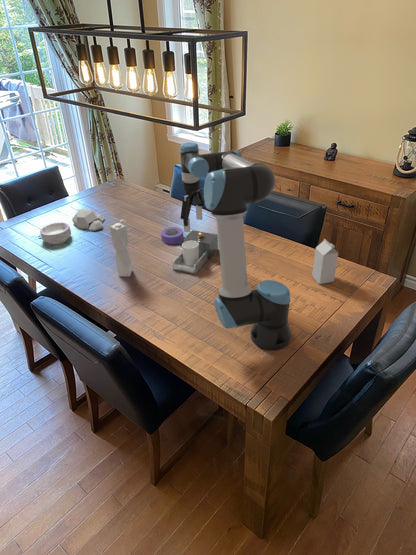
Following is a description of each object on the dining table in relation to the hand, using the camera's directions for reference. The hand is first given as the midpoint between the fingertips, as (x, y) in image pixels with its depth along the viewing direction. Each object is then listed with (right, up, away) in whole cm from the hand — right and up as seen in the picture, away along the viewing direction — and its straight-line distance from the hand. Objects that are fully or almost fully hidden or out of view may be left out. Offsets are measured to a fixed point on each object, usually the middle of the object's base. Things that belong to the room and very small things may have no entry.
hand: (193, 225), depth 190 cm
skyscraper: (-32, -22, +7) cm, 40 cm away
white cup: (-1, -17, +12) cm, 21 cm away
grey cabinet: (0, -15, +16) cm, 22 cm away
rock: (-61, +5, +50) cm, 79 cm away
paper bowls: (-75, -4, +36) cm, 83 cm away
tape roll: (-12, -4, +34) cm, 36 cm away
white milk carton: (+59, -25, -1) cm, 64 cm away
